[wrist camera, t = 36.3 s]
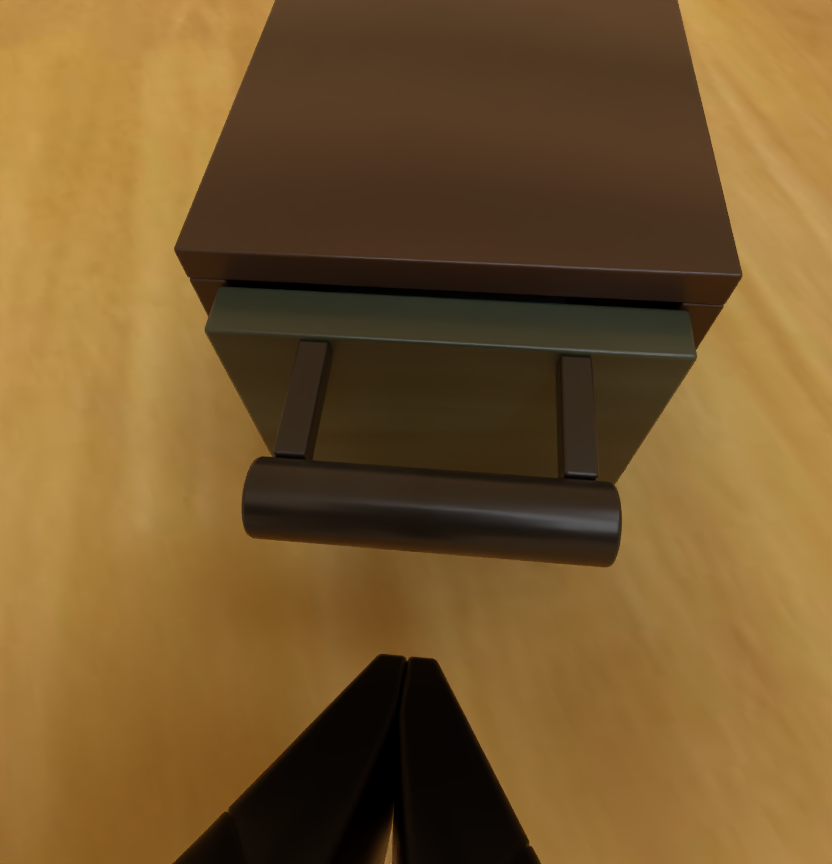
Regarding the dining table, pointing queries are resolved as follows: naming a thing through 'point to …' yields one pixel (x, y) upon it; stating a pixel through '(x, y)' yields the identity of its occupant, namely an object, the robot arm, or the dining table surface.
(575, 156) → the cabinet
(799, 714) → the dining table surface
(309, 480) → the drawer
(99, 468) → the dining table surface
